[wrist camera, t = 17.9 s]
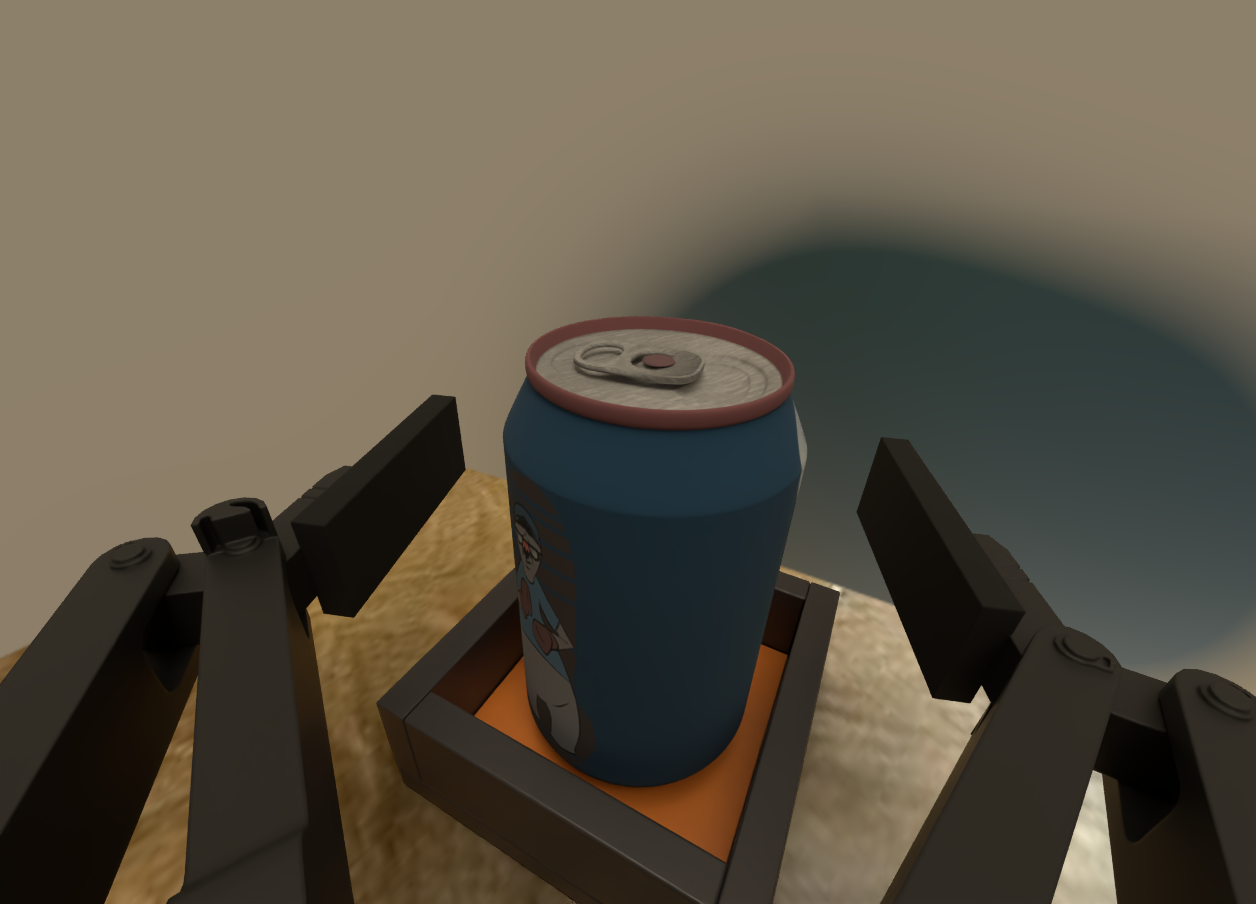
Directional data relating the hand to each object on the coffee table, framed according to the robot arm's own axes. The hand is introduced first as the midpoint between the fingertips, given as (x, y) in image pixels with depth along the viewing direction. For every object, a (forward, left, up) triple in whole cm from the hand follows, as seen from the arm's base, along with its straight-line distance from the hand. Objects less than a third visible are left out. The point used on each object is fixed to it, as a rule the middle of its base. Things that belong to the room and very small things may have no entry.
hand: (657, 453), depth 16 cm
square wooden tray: (+3, -1, -9) cm, 9 cm away
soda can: (+3, -1, -8) cm, 8 cm away
